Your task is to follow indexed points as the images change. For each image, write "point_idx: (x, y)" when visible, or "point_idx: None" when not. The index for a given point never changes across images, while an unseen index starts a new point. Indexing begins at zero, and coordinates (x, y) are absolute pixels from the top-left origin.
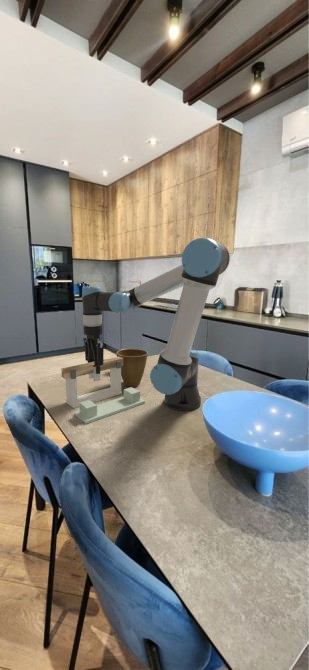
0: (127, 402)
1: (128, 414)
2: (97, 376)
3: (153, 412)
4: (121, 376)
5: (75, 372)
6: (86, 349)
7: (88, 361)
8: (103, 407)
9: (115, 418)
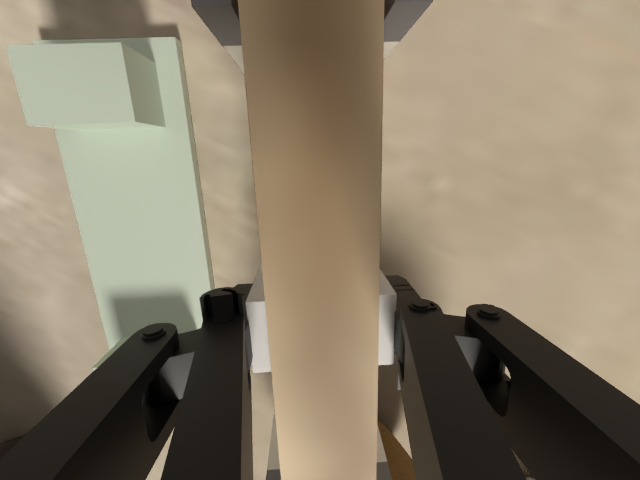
0: (143, 322)
1: (52, 271)
2: None
3: (21, 364)
4: (386, 442)
5: (195, 3)
6: (625, 465)
7: (413, 311)
8: (150, 201)
9: (40, 202)
